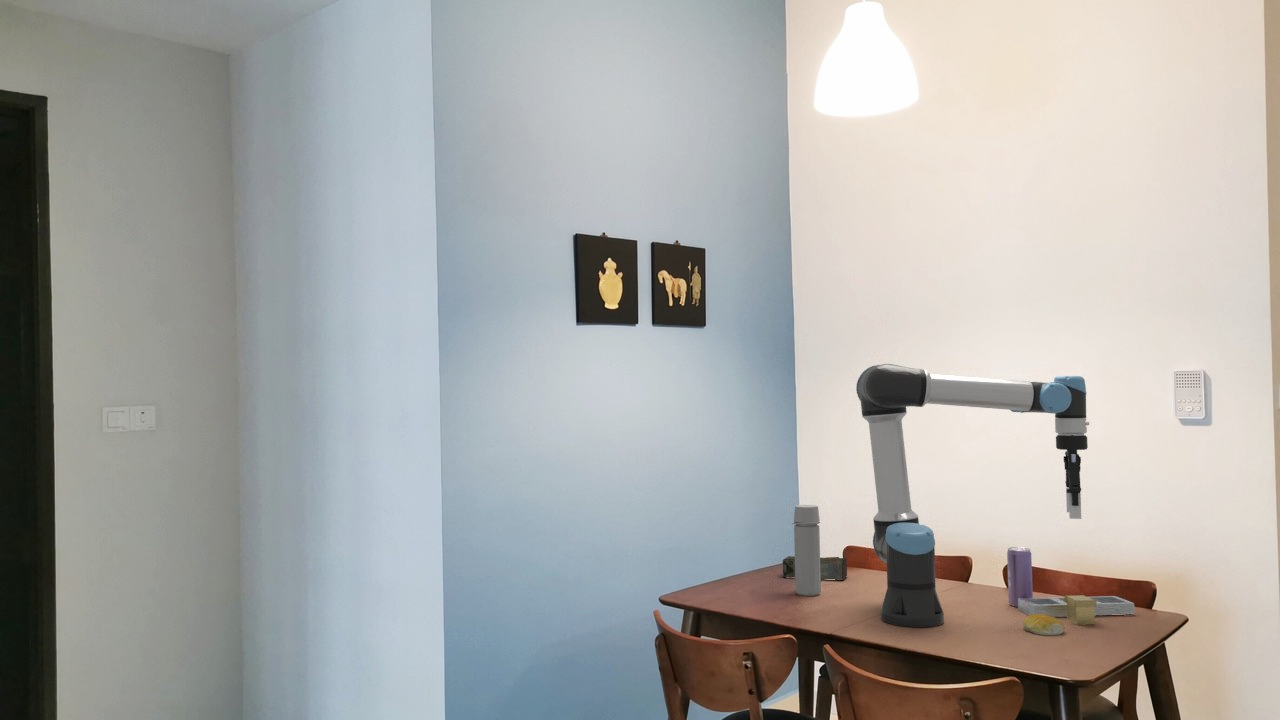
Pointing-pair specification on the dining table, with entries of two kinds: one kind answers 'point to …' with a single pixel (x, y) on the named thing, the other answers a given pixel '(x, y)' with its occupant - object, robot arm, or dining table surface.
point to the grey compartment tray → (1059, 607)
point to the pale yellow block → (1080, 609)
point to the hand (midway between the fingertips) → (1073, 515)
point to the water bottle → (807, 550)
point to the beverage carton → (828, 567)
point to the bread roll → (1043, 625)
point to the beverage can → (1019, 574)
